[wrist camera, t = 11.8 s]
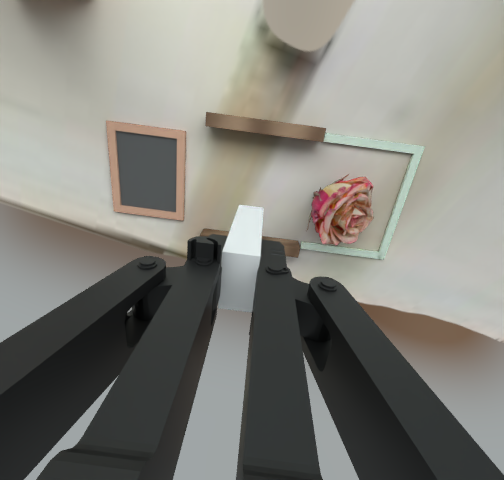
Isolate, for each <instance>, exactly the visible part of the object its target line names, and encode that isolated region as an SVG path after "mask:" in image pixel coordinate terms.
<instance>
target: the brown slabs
mask: <svg viewBox="0 0 504 480" xmlns="http://www.w3.org/2000/svg"><path fill="white" fill-rule="evenodd" d="M206 126H209V127H216V128H224V129H231V130H238V131H246V132H253V133H261V134H268V135H275V136H283V137H290V138H298V139H305V140H312V141H320V142H323V140H324V136H325V131H326V128H320V127H313V126H305V125H298V124H291V123H283V122H276V121H268V120H261V119H254V118H246V117H239V116H232V115H224V114H217V113H209V112H206ZM211 234H217V235H225V236H228V234H229V232H227V231H219V230H212V229H203V231H202V233H201V234H200V236H209V235H211ZM262 239H264V240H272V241H280V242H281V243H282V244H283V245H284V249H285V256H290V257H297V258H298V255H299V251H300V246H299V243H298V241H295V240H287V239H280V238H272V237H264V236H262Z"/></svg>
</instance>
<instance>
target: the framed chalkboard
mask: <svg viewBox="0 0 504 480" xmlns="http://www.w3.org/2000/svg"><path fill="white" fill-rule="evenodd" d="M106 126H107V137H108V149H109V160H110V172H111V183H112V195H113V207H114V211H115V212H122V213H130V214H137V215H145V216H152V217H160V218H167V219H175V220H182V221H183V220H184V195H185V152H186V131H180V130H173V129H165V128H158V127H150V126H143V125H136V124H128V123H121V122H113V121H106Z"/></svg>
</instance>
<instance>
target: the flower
mask: <svg viewBox="0 0 504 480" xmlns="http://www.w3.org/2000/svg"><path fill="white" fill-rule="evenodd" d="M347 176H348V175H347ZM347 176H345V177H347ZM345 177H344V178H345ZM344 178H342V179H339V180H338V181H336V182H334V183H333V184H331V185H329V186H327V187H325V188H324V189H323V190H321V188H320V190H319V192H318V191H316V192H314V196H315V197H313V202H312V211H311V214H310V216H309V222H310V219H311V217H312V218H313V223H314V224H315V230H316V232H318V233H319V236H320V238H321V242H322V243H323V245H324V244H335V245H338V244H339V243H340V242H344V243H347V244H351V243H354V242H355V241H357V239H358V234H359V232H362V230H364V229H365V228H366V227H367V226H368V225H369V224H370V222H371V221H372V220H373V218H374V217H373V211H372V209H371V193H372V189H373V185H372V183H371V182H370V181H369V180H368V179H367V178H366V177H358V178H355V179H352V180H349V181H342V180H343V179H344ZM308 226H309V223H308ZM307 230H308V229H307ZM307 230H306V231H307Z"/></svg>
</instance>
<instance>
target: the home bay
mask: <svg viewBox="0 0 504 480" xmlns="http://www.w3.org/2000/svg"><path fill="white" fill-rule="evenodd" d="M323 141H324V142H331V143H338V144H346V145H353V146H361V147H368V148H375V149H383V150H390V151H398V152H405V153H412V156H411V159H410V162H409V165H408V168H407V171H406V174H405V176H404V179H403V182H402V185H401V188H400V191H399V194H398V196H397V199H396V202H395V205H394V208H393V211H392V214H391V216H390V219H389V222H388V225H387V228H386V231H385V234H384V237H383V239H382V242H381V245H380V248H379V251H370V250H363V249H355V248H347V247H340V246H332V245H325V244H324V245H323V244H317V243H310V242H302V241H301V245H300V249H307V250H315V251H322V252H330V253H337V254H345V255H352V256H360V257H368V258H375V259H383V260H384V258H385V255H386V252H387V250H388V247H389V244H390V241H391V239H392V236H393V233H394V230H395V228H396V225H397V222H398V219H399V217H400V214H401V211H402V208H403V206H404V203H405V200H406V197H407V195H408V192H409V189H410V186H411V184H412V181H413V178H414V175H415V173H416V170H417V167H418V164H419V162H420V159H421V156H422V153H423V151H424V148H425V146H418V145H410V144H403V143H396V142H388V141H381V140H374V139H366V138H359V137H351V136H344V135H337V134H329V133H325V136H324V140H323Z"/></svg>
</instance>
